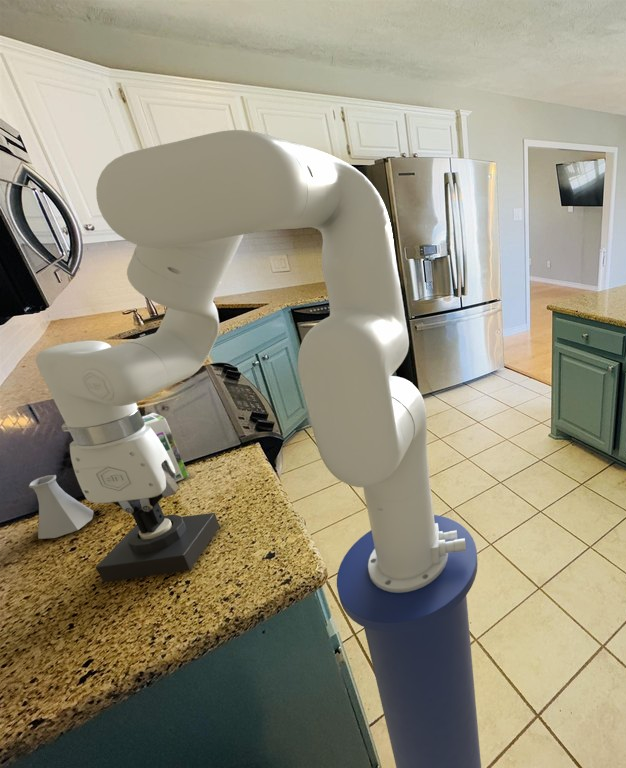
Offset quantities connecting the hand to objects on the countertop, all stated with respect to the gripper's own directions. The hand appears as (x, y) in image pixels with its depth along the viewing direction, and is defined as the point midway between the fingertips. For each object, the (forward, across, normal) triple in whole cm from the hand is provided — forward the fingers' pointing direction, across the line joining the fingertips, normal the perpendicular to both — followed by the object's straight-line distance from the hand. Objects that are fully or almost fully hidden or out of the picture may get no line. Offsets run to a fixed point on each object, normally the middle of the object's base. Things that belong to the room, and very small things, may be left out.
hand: (153, 526), depth 66 cm
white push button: (+2, 0, 0) cm, 2 cm away
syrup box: (+6, -12, +23) cm, 26 cm away
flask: (+6, -22, +11) cm, 25 cm away
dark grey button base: (+6, 0, 0) cm, 6 cm away
